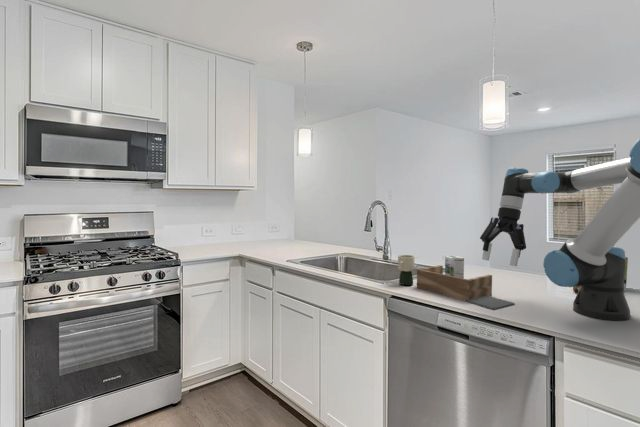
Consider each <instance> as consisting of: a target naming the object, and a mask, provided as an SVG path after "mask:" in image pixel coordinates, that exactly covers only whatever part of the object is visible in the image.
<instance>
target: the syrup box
mask: <svg viewBox="0 0 640 427" xmlns="http://www.w3.org/2000/svg"><path fill="white" fill-rule="evenodd" d="M464 273H465V258H464V257H461V256H457V255H446V256H444V274H445V275H449V276H454V277H459V278H463V279H465V278H464V277H465V274H464Z"/></svg>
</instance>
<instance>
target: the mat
mask: <svg viewBox="0 0 640 427" xmlns="http://www.w3.org/2000/svg"><path fill="white" fill-rule="evenodd" d="M466 302H467V303H470V304H473V305H476V306H480V307H483V308H486V309H489V310H493V311H496V310H499V309H503V308H507V307H510V306H515V302H512V301H509V300H505V299H501V298H497V297H494V296H492V295H490V296H487V295H485V296H482V297H478V298H475V299H471V300H466V299H465V303H466Z"/></svg>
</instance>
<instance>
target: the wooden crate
mask: <svg viewBox="0 0 640 427" xmlns="http://www.w3.org/2000/svg"><path fill="white" fill-rule="evenodd" d="M443 269H444V267H443V265H434V266H429V267H424V268H418V269H416V288H417V289H420V290H424V291H428V292H430V293H431V292H432V293H435V294H439V295H443V296H447V297H450V298H453V299H458V300H461V301H465V299H466V300H471V299H475V298H478V297H482V296H485V295H487V296H492V295H493V275H492V274H486V275H485V274H484V275H482V276H477V277H473V278H464V279H463V278H459V277H454V276H449V275H445V273H443ZM465 302H466V301H465Z"/></svg>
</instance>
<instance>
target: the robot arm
mask: <svg viewBox="0 0 640 427" xmlns="http://www.w3.org/2000/svg"><path fill="white" fill-rule="evenodd" d="M503 182H504V183H503V188H502V193H501V197H500V202H499V206H500V207H499V208H498V211H497V217H491V218H490V221H489V223H488V225H487V226H486V228H485V229H484V231H483V232H482V234H481V235H480V237H479V239H480V240H481V241H482V243H483V247H482V251H483V252H482V257H481V260H483V261H490V256H491V252H492V248H493V243H491V242H493V240H494V239H496V238H497V237H498V236H500V234H501V233H503V232H504V233H506V234H508V235H509V238H510V239H511V242H512V244H513V246H514V248H512V251H511V256H510V261H509V265H510V266H512V267H513V266H514V267H518V261H519V258H520V257H521V252H522V251H524V250H526V249H527V243H526V237H525V233H524V224H523V223H518V221H520V218H521V213H522V211H521V210H522V208H523V204H524V203H523V202H524V199H525V194H543V195H544V194H574V193H579V192H581V191H583V190H589V189H590V190H591V189H595V188H601V187H606V186H607V187H608V186H613V185H619V184H620V185H619V186H618V187H617V188H616V190H615V191H614V192H613V193H612V194H611V196H610V197H609V198H608V199H607V200H606V201H605V202H604V204H603V205H602V206H601V207H600V209H599V210H598V211H597V212H596V213H595V215H594V216H593V217H592V218H591V219H590V221H589V222H588V223H587V224H586V225H585V227H584V228H583V229H582V230H581V232H580V233H579V234H578V235H577V236H576V237H575V238H574V237H572V238H569V239H568V238H567V240H566V241H565V242H564V243H563V245H562V246H561V247H560V248H559V249H557V250H556V249H555V250H552V251H549V252H548V253H547V254H545V256H544V259H543V269H544V272H545V275H546V277H547V278H548V280H549V281H551V283H553V284H554V285H556V286H558V287H562V288H573V287H574V286H580V289H579V291H578V293H576V296H575V298H574V301H573V302H572V303H573V305H572V310H573V311H575V312H576V313H578V314H580V315H584V316H586V317H590V318H594V319H601V320H607V321H626V320H630V319H631V310H630V306H629V304H628V300H627V298H626V296H625V292H624V277H625V261H626V259H625V257H626V251H625V250H624V249H623V248H621V247H618V246H615V245H616V244H617V243H618V242H619V240H621V239H622V237H623V236H624V235H625V234H626V233H627V232H628V231H630V229H631V228H632V226H634V224H635V223H637V221H638V220H639V219H640V138H638V139H637V140H636V141H635V142H634V143H633V145H632V147H631V149H630V151H629V155H628V157H623V158H619V159H616V160H611V161H608V162H603V163H599V164H595V165H594V164H593V165H589V166H586V167H582V168H578V169H573V170H569V171H563V172H560V171H559V172H555V171H548V170H547V171H545V170H544V171H543V170H542V171H537V172H530V171H529V170H528V169H526V168H522V167H509V168H508V169H507V170H506V173H505V176H504V181H503Z"/></svg>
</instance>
